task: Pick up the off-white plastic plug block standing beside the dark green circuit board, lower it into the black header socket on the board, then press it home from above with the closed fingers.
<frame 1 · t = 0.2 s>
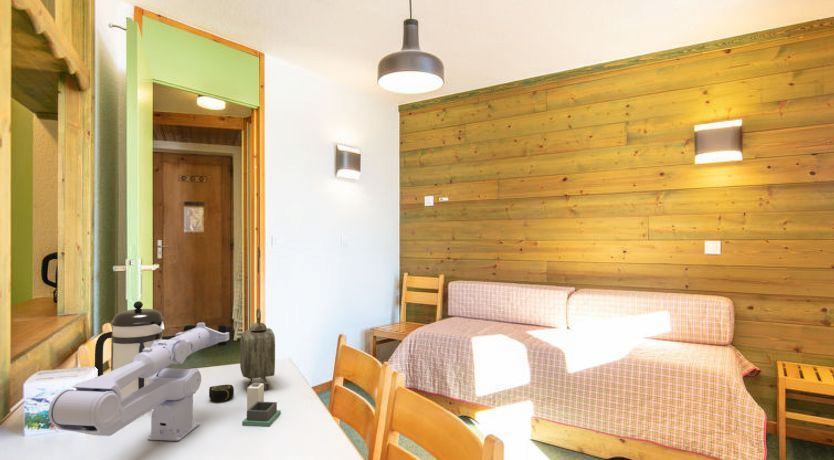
hand: (218, 329, 132), 21 cm above the table, fingers open, 7 cm apart
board: (262, 419, 120), on the table
tape measure: (220, 399, 134), on the table
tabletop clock: (256, 386, 146), on the table
coffee press: (131, 406, 128), on the table
plug: (255, 406, 128), on the table
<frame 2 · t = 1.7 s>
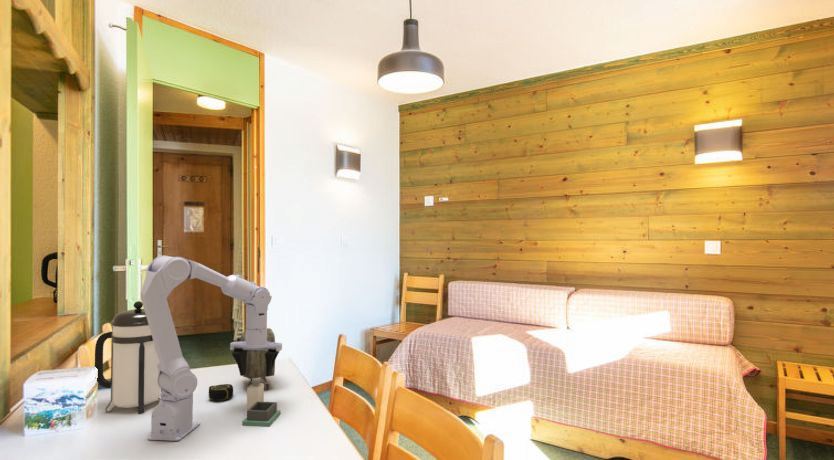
hand: (255, 375, 128), 9 cm above the table, fingers open, 7 cm apart
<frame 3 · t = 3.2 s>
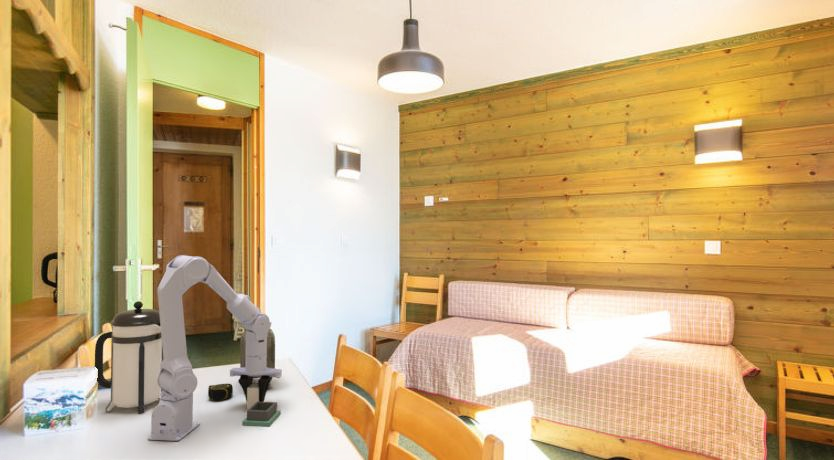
hand: (255, 401, 128), 1 cm above the table, fingers closed on plug, 3 cm apart
plug: (255, 406, 128), on the table, touching gripper
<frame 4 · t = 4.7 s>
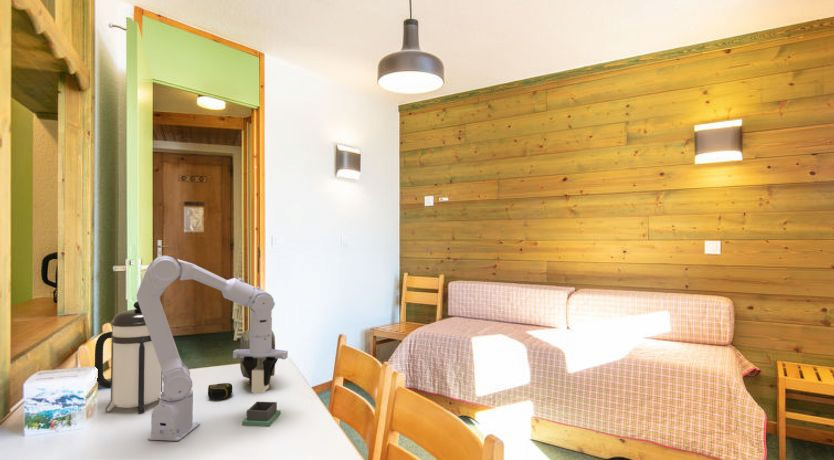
hand: (260, 384, 123), 8 cm above the table, fingers closed on plug, 3 cm apart
plug: (260, 390, 123), point 7 cm above the table, touching gripper
when the fingers open (4 cm above the table, at t = 6.3 s): plug drops 2 cm, resting on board.
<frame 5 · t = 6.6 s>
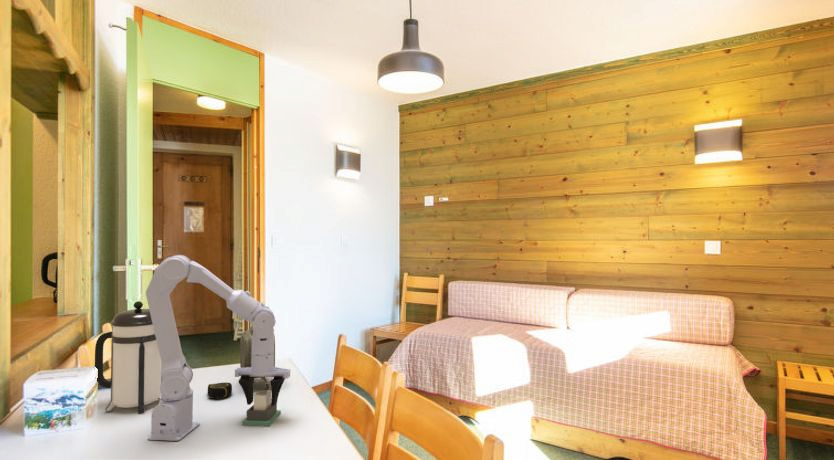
hand: (262, 403, 120), 4 cm above the table, fingers open, 6 cm apart
plug: (262, 415, 120), point 1 cm above the table, touching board
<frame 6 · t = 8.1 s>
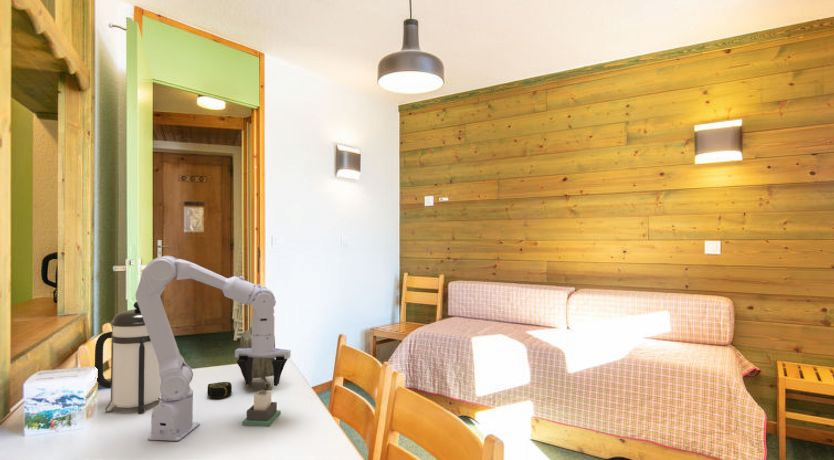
hand: (262, 384, 120), 9 cm above the table, fingers open, 7 cm apart
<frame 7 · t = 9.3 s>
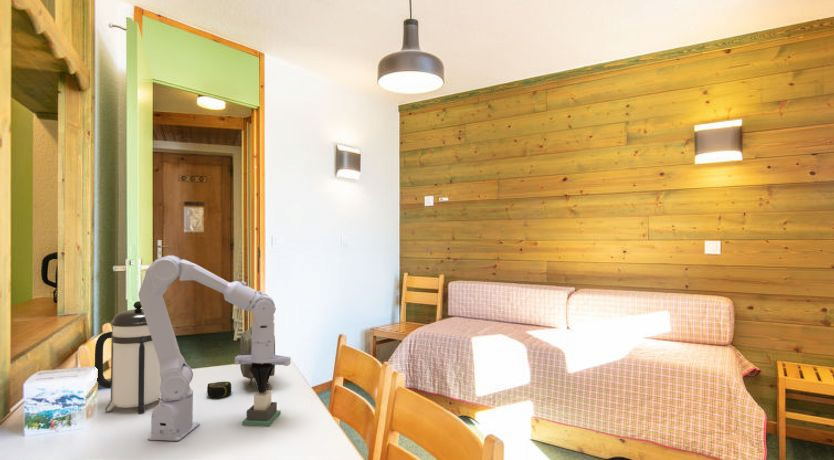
hand: (262, 391, 120), 8 cm above the table, fingers closed, pressing on plug
plug: (262, 415, 120), point 1 cm above the table, touching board, gripper
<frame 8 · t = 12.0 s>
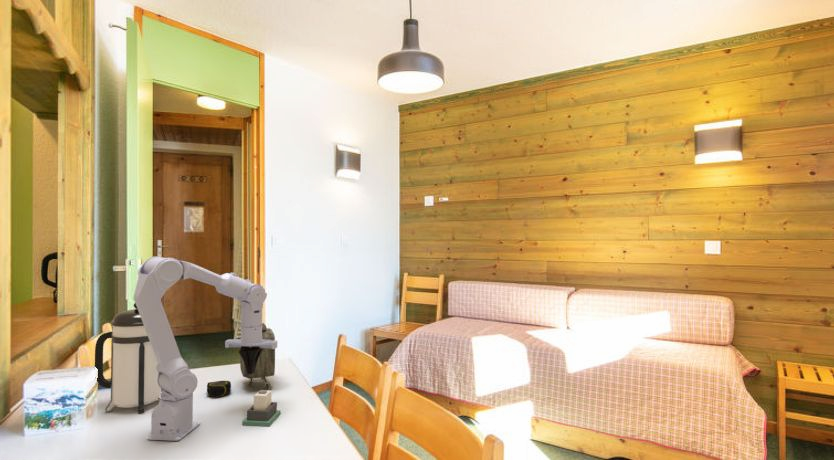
hand: (251, 373, 128), 10 cm above the table, fingers closed
plug: (262, 415, 120), point 1 cm above the table, touching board
at the end: plug 0.2 cm off-centre on the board, point 1.0 cm above the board's base; plug tilted 0°; the gripper is holding nothing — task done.
